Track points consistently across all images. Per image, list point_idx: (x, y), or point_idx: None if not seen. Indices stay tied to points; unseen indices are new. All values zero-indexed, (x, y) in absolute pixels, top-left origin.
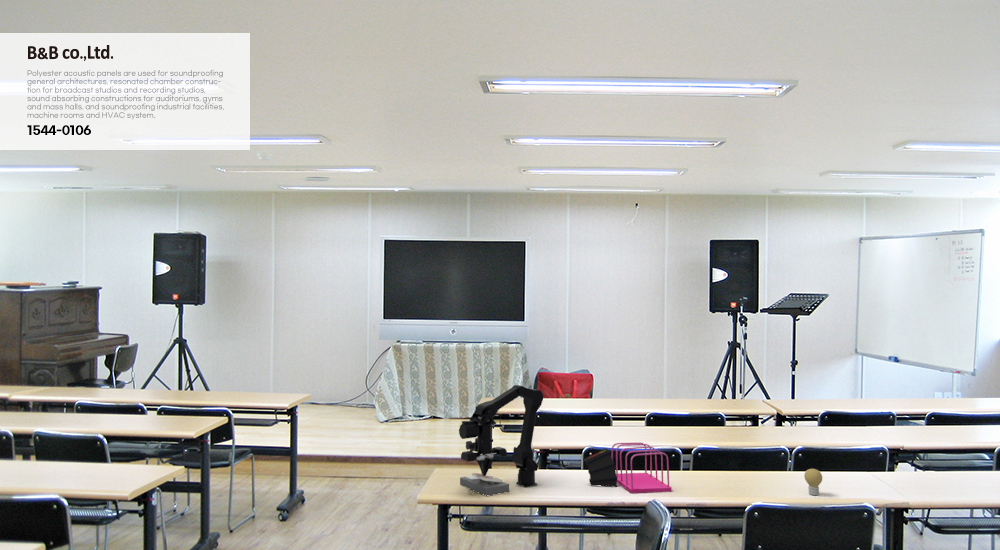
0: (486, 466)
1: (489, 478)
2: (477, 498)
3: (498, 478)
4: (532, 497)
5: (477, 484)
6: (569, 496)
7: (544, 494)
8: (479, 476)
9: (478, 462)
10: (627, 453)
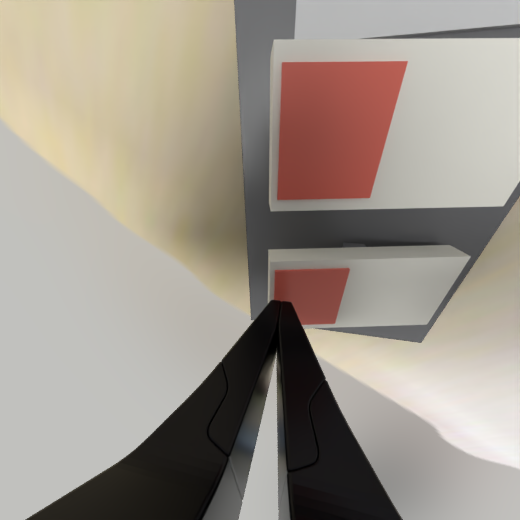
0: (279, 437)
1: (308, 326)
2: (211, 291)
3: (444, 291)
4: (393, 389)
5: (250, 234)
6: (498, 442)
7: (469, 398)
8: (298, 206)
9: (147, 461)
10: None
